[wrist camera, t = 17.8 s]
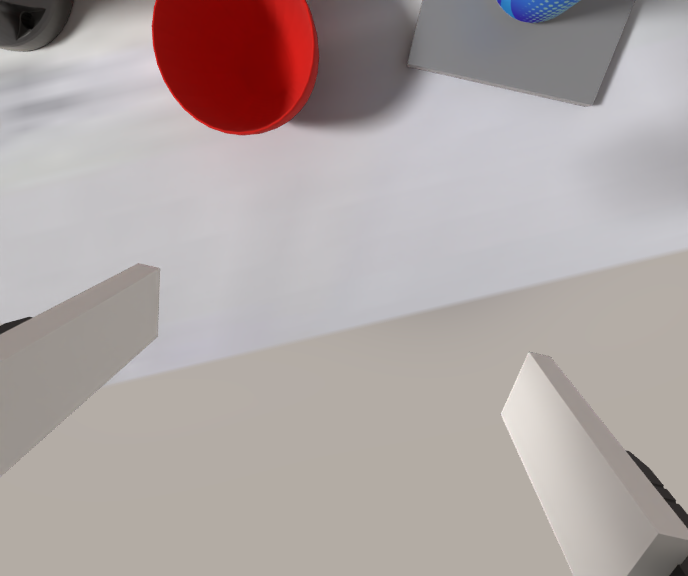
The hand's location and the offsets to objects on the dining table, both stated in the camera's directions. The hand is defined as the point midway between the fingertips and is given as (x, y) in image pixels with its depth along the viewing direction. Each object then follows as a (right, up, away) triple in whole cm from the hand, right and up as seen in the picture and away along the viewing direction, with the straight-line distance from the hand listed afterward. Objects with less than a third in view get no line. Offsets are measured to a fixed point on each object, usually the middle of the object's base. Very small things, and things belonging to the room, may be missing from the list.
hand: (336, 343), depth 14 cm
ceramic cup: (-6, +26, +25) cm, 36 cm away
